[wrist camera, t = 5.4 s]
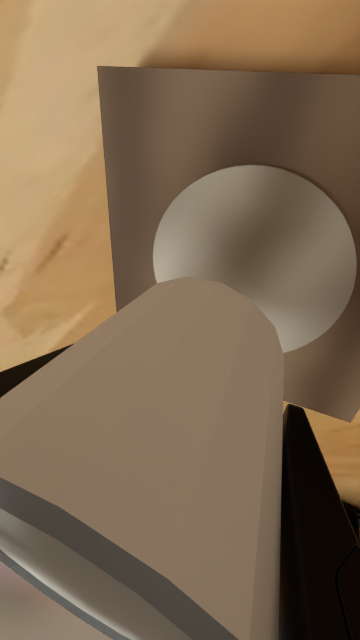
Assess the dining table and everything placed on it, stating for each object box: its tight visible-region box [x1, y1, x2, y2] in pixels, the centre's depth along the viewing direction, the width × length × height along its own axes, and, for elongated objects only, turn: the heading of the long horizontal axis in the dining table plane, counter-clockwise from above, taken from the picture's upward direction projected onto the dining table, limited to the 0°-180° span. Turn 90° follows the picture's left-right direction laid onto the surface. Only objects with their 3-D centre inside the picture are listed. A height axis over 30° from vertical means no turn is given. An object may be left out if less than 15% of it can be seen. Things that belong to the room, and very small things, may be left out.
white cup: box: [0, 276, 284, 640], centre depth 8 cm, size 7×7×7 cm
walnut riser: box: [97, 66, 360, 423], centre depth 16 cm, size 16×16×4 cm
